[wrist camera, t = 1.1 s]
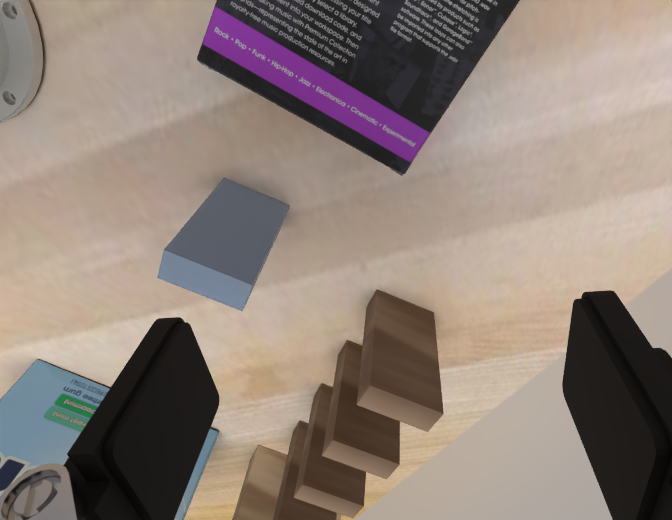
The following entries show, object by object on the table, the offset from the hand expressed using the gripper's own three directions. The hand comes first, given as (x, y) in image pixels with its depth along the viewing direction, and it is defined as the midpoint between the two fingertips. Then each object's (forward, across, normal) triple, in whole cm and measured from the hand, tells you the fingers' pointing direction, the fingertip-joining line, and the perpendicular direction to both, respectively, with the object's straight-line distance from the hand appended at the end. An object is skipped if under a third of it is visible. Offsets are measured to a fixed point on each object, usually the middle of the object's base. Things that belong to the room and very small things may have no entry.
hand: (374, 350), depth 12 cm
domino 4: (+21, +7, +26) cm, 34 cm away
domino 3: (+21, +4, +21) cm, 30 cm away
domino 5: (+21, 0, +16) cm, 26 cm away
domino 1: (+22, +10, +5) cm, 24 cm away
